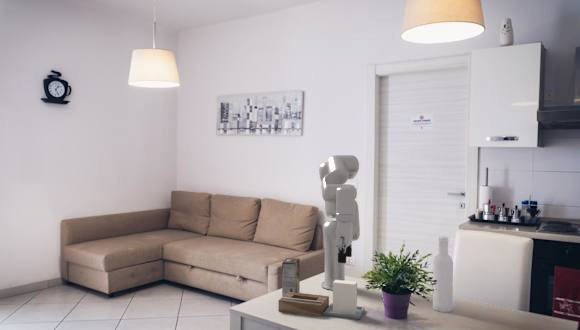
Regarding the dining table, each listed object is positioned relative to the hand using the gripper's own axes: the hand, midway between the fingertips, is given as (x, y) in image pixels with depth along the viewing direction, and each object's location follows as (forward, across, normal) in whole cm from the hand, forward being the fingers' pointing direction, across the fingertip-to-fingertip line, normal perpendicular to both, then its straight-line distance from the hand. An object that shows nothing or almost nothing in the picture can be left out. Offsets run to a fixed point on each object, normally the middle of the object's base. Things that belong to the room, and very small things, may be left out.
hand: (344, 259), depth 193 cm
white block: (+21, +1, 0) cm, 21 cm away
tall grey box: (+22, -13, -28) cm, 38 cm away
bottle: (+22, -17, +37) cm, 46 cm away
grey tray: (+22, +1, 0) cm, 22 cm away
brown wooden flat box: (+22, +2, -17) cm, 27 cm away
